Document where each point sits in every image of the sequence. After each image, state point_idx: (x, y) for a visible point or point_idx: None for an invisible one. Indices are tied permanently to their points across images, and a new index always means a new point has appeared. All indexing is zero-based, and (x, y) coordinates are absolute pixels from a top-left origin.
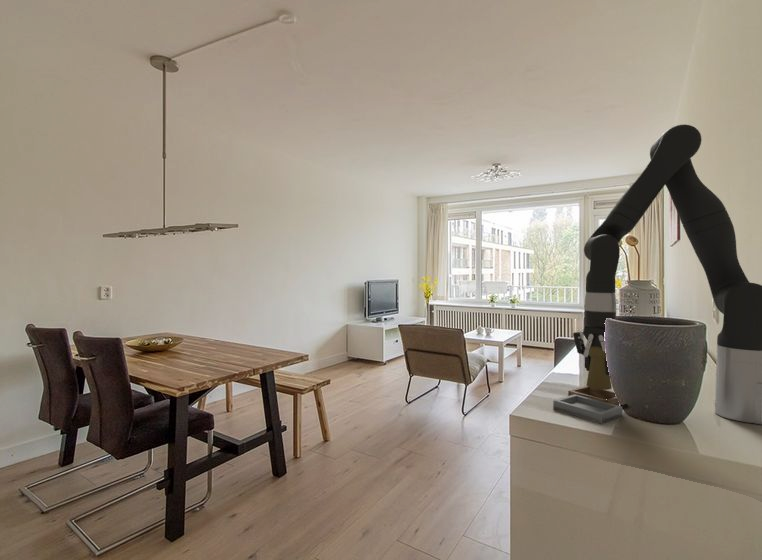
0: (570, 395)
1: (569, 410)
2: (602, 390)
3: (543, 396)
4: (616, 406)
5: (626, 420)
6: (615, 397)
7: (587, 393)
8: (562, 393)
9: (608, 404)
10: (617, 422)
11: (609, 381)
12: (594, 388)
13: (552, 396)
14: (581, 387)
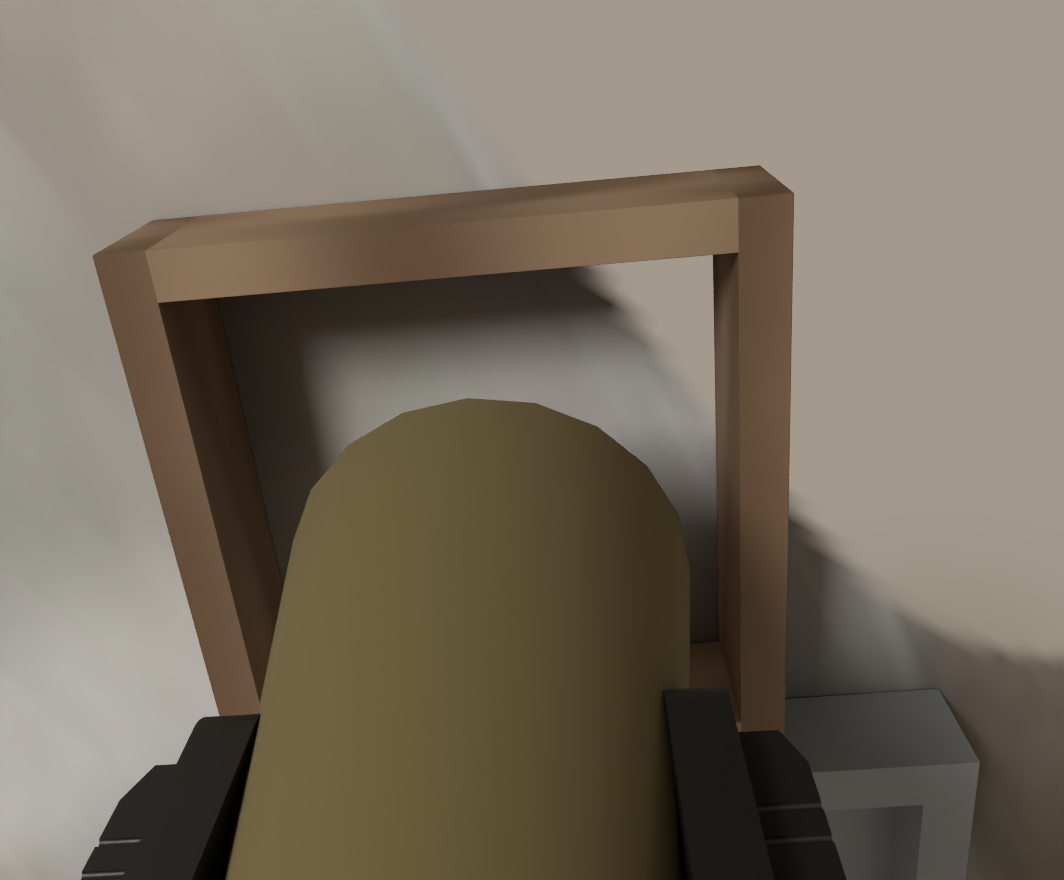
0: None
1: None
2: (397, 279)
3: (65, 823)
4: (924, 803)
5: (1018, 767)
6: (762, 526)
7: (208, 323)
8: (15, 532)
9: (828, 810)
10: (980, 877)
11: (689, 659)
12: (255, 292)
13: (95, 742)
14: (167, 488)
